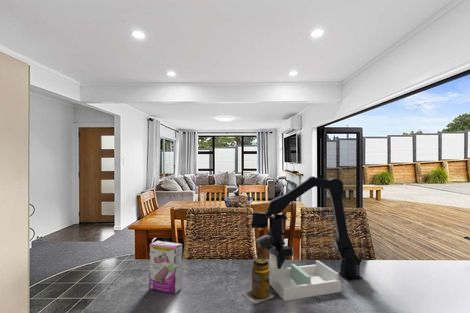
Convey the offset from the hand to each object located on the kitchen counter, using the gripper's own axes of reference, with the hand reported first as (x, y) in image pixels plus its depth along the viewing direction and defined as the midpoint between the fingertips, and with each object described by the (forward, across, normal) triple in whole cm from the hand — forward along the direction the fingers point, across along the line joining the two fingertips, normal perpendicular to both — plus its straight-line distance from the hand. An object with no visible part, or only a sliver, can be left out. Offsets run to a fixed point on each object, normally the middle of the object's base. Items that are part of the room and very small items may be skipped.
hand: (276, 266), depth 107 cm
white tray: (+2, +14, +4) cm, 15 cm away
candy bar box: (+2, +3, -45) cm, 45 cm away
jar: (+2, 0, 0) cm, 2 cm away
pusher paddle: (+1, +14, +4) cm, 15 cm away
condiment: (+2, +16, -14) cm, 21 cm away
